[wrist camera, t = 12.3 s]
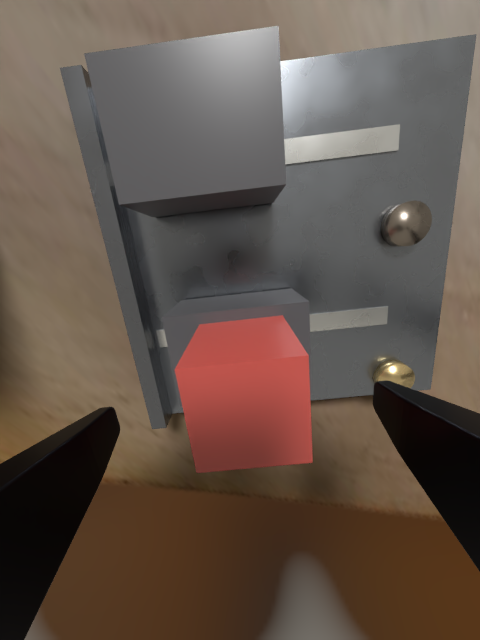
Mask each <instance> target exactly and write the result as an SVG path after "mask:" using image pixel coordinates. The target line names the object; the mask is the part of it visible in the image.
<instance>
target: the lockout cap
mask: <svg viewBox="0 0 480 640" xmlns="http://www.w3.org/2000/svg"><path fill="white" fill-rule="evenodd" d="M175 374H176V378H177V383H178V388H179V393H180V397H181V402H182V407H183V411H184V416H185V421H186V425H187V430H188V435H189V439H190V444H191V449H192V454H193V458H194V463H195V468H196V472H197V473H203V472H214V471H226V470H237V469H248V468H259V467H270V466H281V465H292V464H303V463H313V456H312V430H311V404H310V378H309V355H308V354H307V352H306V351H305V349H304V347H303V346H302V344H301V343H300V341H299V340H298V338H297V337H296V335H295V334H294V332H293V331H292V329H291V327H290V326H289V324H288V323H287V321H286V320H285V318H284V317H283V315H281V316H272V317H263V318H254V319H245V320H236V321H227V322H218V323H209V324H200V325H199V326H198V328H197V330H196V331H195V333H194V335H193V337H192V339H191V340H190V342H189V344H188V346H187V348H186V350H185V351H184V353H183V355H182V357H181V359H180V360H179V362H178V364H177V366H176V368H175Z"/></svg>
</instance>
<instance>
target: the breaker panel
mask: <svg viewBox="0 0 480 640" xmlns="http://www.w3.org/2000/svg"><path fill="white" fill-rule="evenodd" d="M475 41H476V34H475V35H468V36H461V37H453V38H446V39H439V40H432V41H425V42H417V43H410V44H403V45H396V46H388V47H381V48H374V49H367V50H360V51H352V52H345V53H338V54H331V55H324V56H316V57H309V58H302V59H295V60H287V61H280V66H281V86H282V106H283V126H284V146H285V167H286V186H285V187H284V188H283V190H282V191H281V193H280V194H279V196H278V197H277V198H276V200H275V201H274V203H268V204H259V205H251V206H243V207H234V208H226V209H218V210H209V211H201V212H193V213H184V214H176V215H168V216H159V217H150V216H148V215H145V214H142V213H140V212H137V211H134V210H132V209H129V208H126V207H124V206H121V205H119V203H118V198H117V194H116V189H115V185H114V181H113V176H112V172H111V168H110V163H109V159H108V155H107V150H106V146H105V142H104V137H103V133H102V128H101V124H100V120H99V115H98V111H97V107H96V102H95V98H94V94H93V89H92V85H91V81H90V76H89V74H88V72H87V71H86V70H85V69H84V68H83V67H82V65H77V66H70V67H63V68H60V70H61V74H62V78H63V82H64V86H65V90H66V94H67V98H68V102H69V106H70V109H71V113H72V117H73V121H74V125H75V129H76V133H77V137H78V141H79V145H80V149H81V153H82V156H83V160H84V164H85V168H86V172H87V176H88V180H89V184H90V188H91V192H92V196H93V199H94V203H95V207H96V211H97V215H98V219H99V223H100V227H101V231H102V235H103V239H104V243H105V246H106V250H107V254H108V258H109V262H110V266H111V270H112V274H113V278H114V282H115V286H116V290H117V293H118V297H119V301H120V305H121V309H122V313H123V317H124V321H125V325H126V329H127V333H128V336H129V340H130V344H131V348H132V352H133V356H134V360H135V364H136V368H137V372H138V376H139V380H140V383H141V387H142V391H143V395H144V399H145V403H146V407H147V411H148V415H149V419H150V423H151V426H152V429H158V428H166V427H167V425H168V423H169V420H170V418H171V415H172V413H183V412H184V411H183V407H180V403H179V398H178V393H177V389H176V384H175V379H174V374H173V370H172V365H171V360H170V355H169V350H168V346H167V341H166V336H165V331H164V327H163V322H162V316H164V315H165V314H166V313H167V312H168V311H169V310H171V309H172V308H173V307H174V306H175V305H176V304H178V303H179V302H180V301H181V300H188V299H198V298H207V297H216V296H225V295H235V294H244V293H253V292H262V291H271V290H281V289H290V288H292V289H293V290H294V291H296V292H297V293H299V294H300V295H301V296H303V297H304V298H305V299H307V300H308V301H309V311H310V345H311V380H312V395H310V401H311V400H322V399H333V398H343V397H354V396H365V395H373V391H374V384H375V382H377V381H385V380H388V381H391V382H394V383H397V384H400V385H402V386H405V387H408V388H411V389H413V390H416V391H418V390H429V389H431V382H432V374H433V366H434V358H435V351H436V343H437V335H438V327H439V320H440V312H441V304H442V296H443V289H444V281H445V273H446V265H447V258H448V250H449V242H450V235H451V227H452V219H453V211H454V204H455V196H456V188H457V180H458V173H459V165H460V157H461V149H462V142H463V134H464V126H465V118H466V111H467V103H468V95H469V87H470V80H471V72H472V64H473V56H474V49H475Z"/></svg>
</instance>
